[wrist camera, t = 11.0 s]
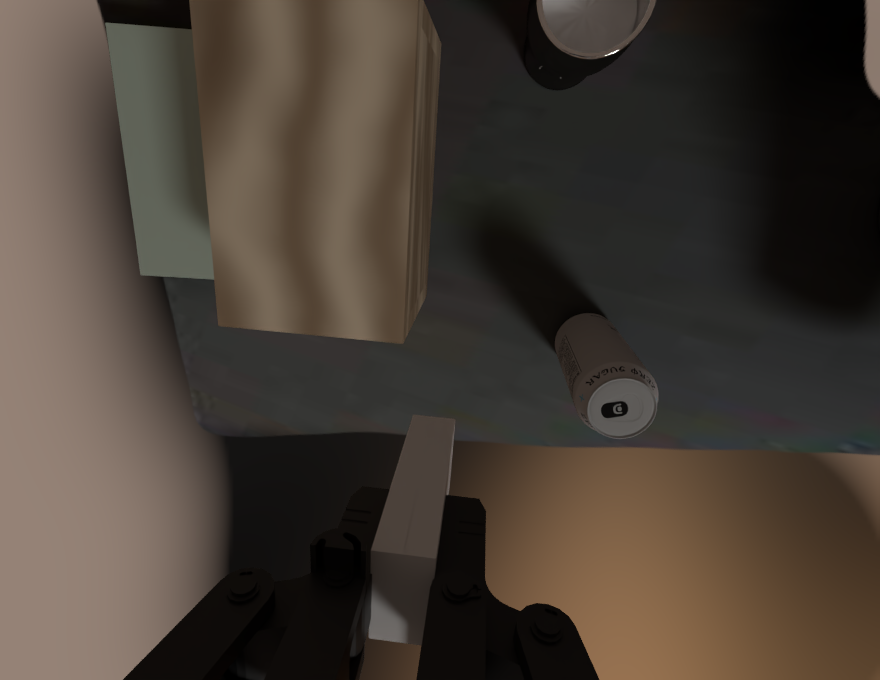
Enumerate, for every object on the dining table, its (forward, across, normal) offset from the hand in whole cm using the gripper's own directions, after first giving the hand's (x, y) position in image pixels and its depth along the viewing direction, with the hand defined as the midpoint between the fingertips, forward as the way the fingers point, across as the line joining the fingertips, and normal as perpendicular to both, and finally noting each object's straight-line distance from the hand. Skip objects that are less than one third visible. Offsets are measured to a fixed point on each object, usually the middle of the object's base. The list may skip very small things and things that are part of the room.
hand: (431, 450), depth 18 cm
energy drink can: (+33, -12, +6) cm, 35 cm away
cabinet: (+32, +11, -8) cm, 35 cm away
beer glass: (+33, -6, -19) cm, 38 cm away
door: (+31, +20, -8) cm, 38 cm away
